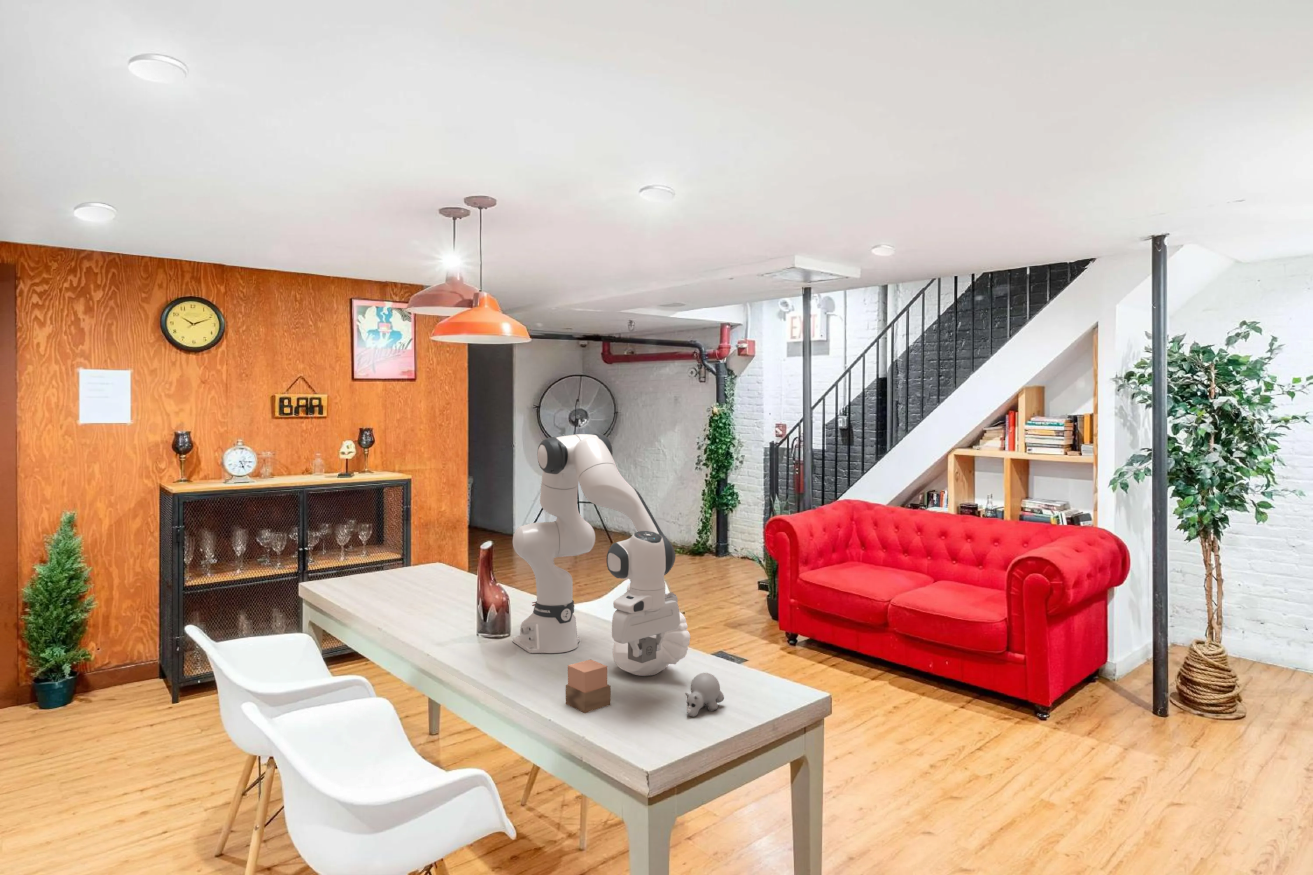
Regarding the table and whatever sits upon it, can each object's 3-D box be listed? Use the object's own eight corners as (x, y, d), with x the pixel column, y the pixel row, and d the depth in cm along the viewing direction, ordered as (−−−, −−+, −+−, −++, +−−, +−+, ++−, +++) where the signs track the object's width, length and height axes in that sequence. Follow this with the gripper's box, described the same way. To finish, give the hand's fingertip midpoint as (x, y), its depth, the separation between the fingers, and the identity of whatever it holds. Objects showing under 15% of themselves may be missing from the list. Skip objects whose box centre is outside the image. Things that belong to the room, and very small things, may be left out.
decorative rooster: (602, 668, 217) (602, 581, 217) (648, 657, 226) (648, 574, 226) (652, 694, 197) (652, 599, 196) (700, 682, 206) (700, 590, 205)
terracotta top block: (567, 685, 190) (567, 665, 190) (590, 678, 195) (590, 659, 195) (584, 692, 185) (584, 672, 185) (607, 685, 190) (607, 666, 189)
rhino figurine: (679, 722, 186) (670, 694, 183) (706, 691, 194) (698, 664, 191) (703, 730, 181) (694, 701, 178) (729, 697, 189) (721, 669, 187)
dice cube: (641, 653, 194) (641, 634, 194) (656, 658, 190) (656, 638, 190) (627, 658, 190) (627, 638, 190) (642, 663, 187) (642, 642, 187)
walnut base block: (565, 704, 191) (565, 684, 190) (590, 696, 196) (590, 677, 196) (585, 713, 185) (585, 693, 185) (610, 705, 190) (610, 685, 190)
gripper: (668, 588, 198) (667, 641, 199) (608, 602, 184) (607, 659, 184) (685, 593, 193) (685, 647, 194) (625, 607, 179) (624, 665, 180)
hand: (646, 653), depth 189 cm, fingers closed on dice cube, 5 cm apart
